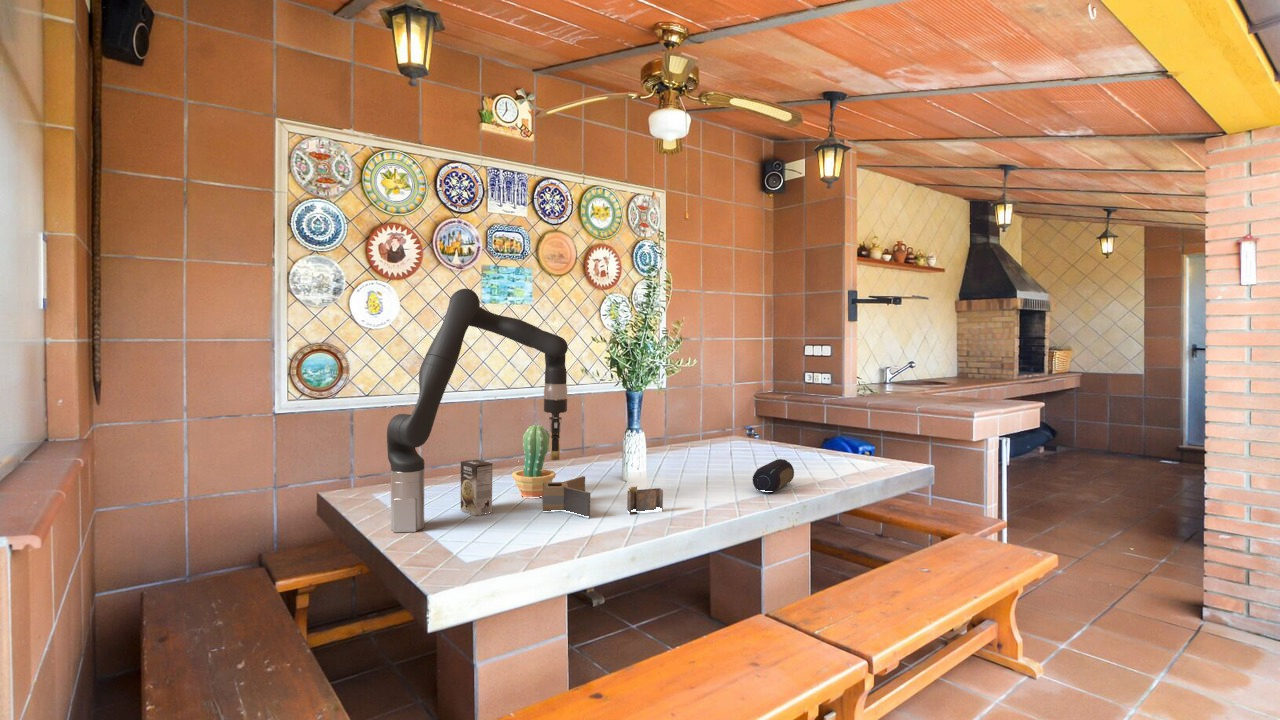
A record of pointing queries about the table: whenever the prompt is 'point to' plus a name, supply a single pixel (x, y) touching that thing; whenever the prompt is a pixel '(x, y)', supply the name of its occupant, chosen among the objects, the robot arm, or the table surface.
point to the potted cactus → (534, 463)
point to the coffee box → (476, 487)
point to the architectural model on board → (644, 499)
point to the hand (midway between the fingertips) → (555, 449)
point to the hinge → (566, 496)
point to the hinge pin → (555, 454)
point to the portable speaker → (773, 475)
